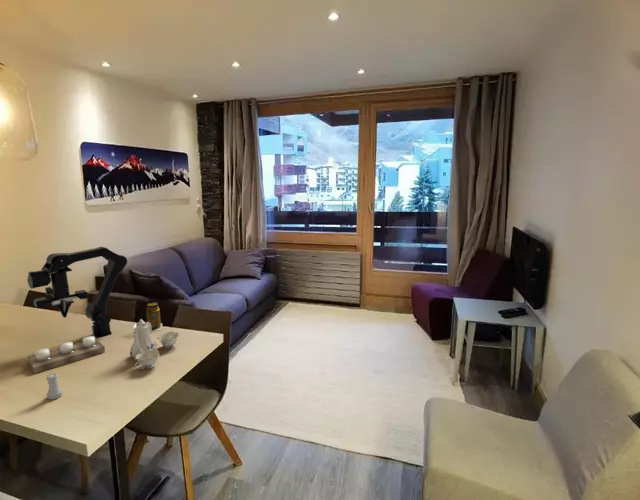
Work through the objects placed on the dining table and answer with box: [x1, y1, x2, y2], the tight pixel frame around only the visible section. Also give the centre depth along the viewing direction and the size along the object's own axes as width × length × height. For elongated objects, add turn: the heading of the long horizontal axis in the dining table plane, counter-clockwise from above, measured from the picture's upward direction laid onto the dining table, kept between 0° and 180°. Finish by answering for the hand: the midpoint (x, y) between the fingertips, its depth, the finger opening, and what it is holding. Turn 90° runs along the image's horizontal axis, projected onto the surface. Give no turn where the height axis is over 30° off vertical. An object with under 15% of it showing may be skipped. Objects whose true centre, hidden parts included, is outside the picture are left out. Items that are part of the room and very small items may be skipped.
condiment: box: [145, 302, 163, 332], centre depth 179 cm, size 7×8×12 cm
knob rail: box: [27, 337, 106, 374], centre depth 150 cm, size 24×12×3 cm, turn 136°
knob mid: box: [59, 341, 74, 354], centre depth 149 cm, size 4×4×3 cm
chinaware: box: [129, 318, 180, 370], centre depth 150 cm, size 28×17×17 cm, turn 2°
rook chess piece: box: [45, 372, 64, 400], centre depth 123 cm, size 4×4×8 cm
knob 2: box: [82, 335, 96, 347], centre depth 155 cm, size 4×4×3 cm
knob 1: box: [34, 347, 51, 361], centre depth 144 cm, size 4×4×3 cm
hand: (64, 317), depth 158 cm, fingers closed
